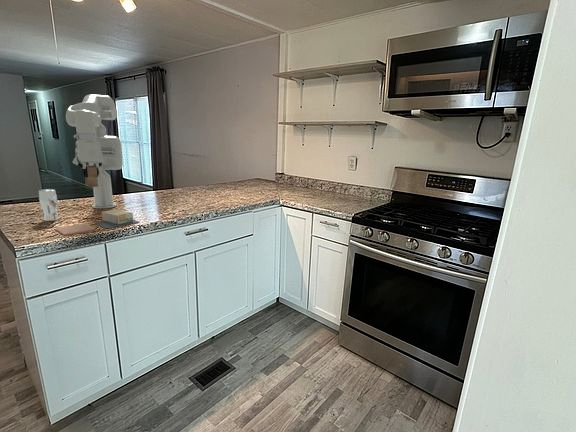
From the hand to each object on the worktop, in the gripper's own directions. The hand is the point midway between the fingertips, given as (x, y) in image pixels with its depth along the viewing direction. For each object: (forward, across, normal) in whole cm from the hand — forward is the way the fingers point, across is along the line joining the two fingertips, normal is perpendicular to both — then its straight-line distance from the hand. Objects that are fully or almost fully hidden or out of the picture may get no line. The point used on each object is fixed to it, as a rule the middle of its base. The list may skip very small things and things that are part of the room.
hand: (91, 176), depth 150 cm
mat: (+23, +6, -8) cm, 25 cm away
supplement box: (+20, +6, 0) cm, 21 cm away
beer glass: (+23, -13, +19) cm, 33 cm away
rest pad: (+23, -12, -8) cm, 27 cm away
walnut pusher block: (+5, 0, 0) cm, 5 cm away
